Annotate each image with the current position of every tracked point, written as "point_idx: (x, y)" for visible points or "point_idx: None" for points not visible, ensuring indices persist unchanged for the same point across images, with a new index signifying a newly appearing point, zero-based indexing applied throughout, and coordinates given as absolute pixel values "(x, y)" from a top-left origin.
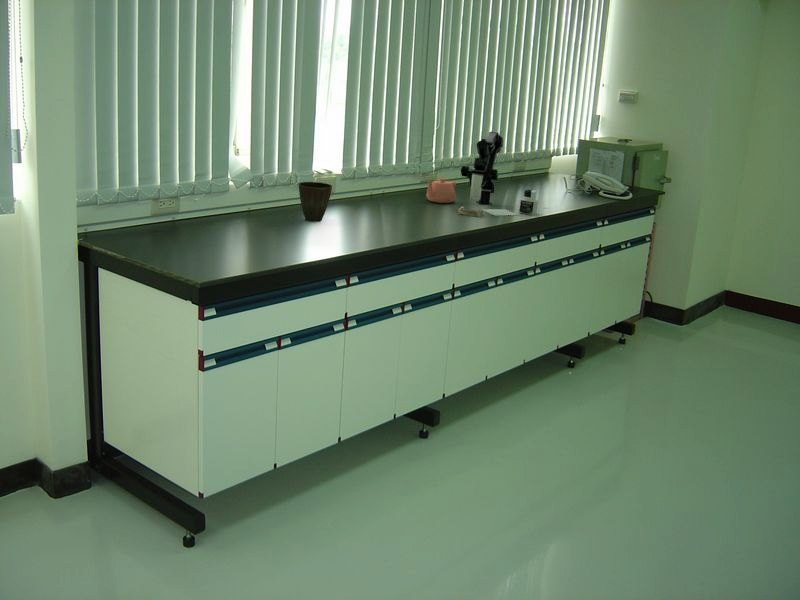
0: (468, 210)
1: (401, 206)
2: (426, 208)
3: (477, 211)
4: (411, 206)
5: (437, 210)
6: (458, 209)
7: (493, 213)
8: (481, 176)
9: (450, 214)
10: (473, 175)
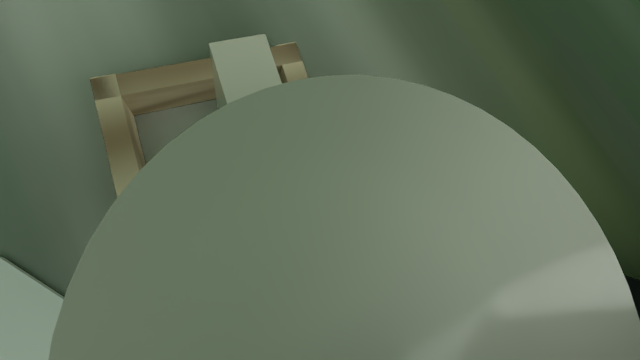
0: (205, 59)
1: (629, 10)
2: (529, 71)
3: (115, 76)
4: (609, 54)
5: (451, 69)
6: (293, 44)
7: (41, 334)
8: (72, 286)
9: (317, 14)
10: (462, 116)
